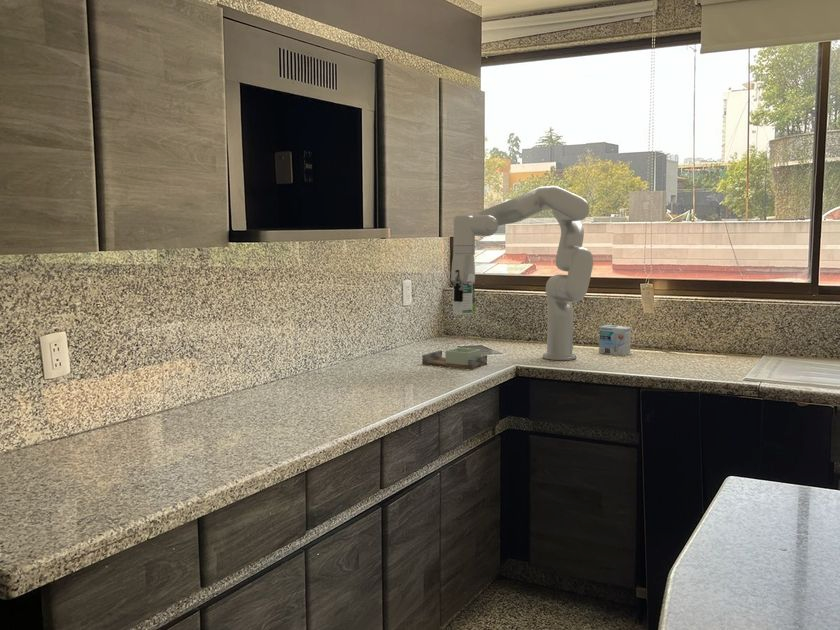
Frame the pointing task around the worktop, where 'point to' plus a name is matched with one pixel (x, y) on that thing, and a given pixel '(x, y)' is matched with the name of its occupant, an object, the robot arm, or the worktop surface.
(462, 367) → the grey brown tray
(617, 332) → the light bulb box
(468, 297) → the syrup box
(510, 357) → the worktop surface
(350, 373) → the worktop surface
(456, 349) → the collar
